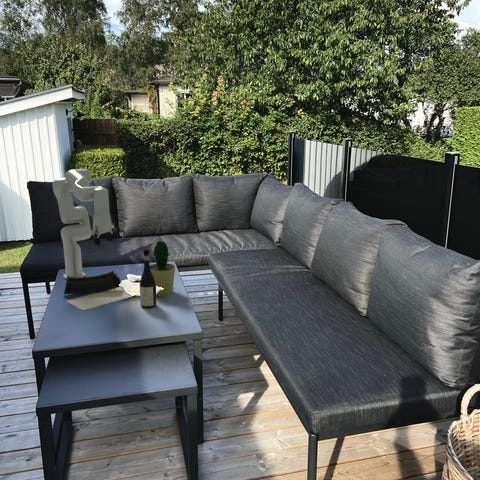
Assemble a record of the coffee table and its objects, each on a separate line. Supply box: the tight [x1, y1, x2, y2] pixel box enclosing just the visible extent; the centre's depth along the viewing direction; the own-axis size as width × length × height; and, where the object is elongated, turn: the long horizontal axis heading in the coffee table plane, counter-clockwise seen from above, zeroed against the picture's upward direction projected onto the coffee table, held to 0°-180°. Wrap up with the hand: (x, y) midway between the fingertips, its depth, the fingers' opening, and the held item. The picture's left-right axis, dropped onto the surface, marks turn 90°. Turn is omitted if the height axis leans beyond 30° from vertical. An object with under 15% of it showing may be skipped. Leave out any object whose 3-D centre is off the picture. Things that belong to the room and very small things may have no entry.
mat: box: [66, 286, 133, 312], centre depth 258 cm, size 18×33×1 cm, turn 135°
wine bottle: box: [139, 248, 157, 309], centre depth 244 cm, size 8×8×30 cm
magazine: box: [63, 270, 122, 295], centre depth 264 cm, size 17×3×30 cm
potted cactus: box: [149, 240, 176, 297], centre depth 264 cm, size 15×15×30 cm
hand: (103, 243), depth 257 cm, fingers open, 9 cm apart
